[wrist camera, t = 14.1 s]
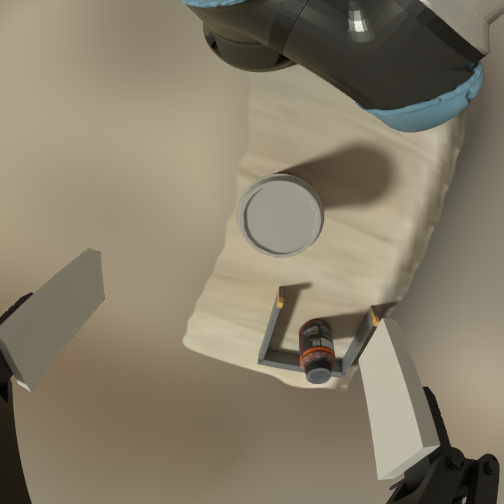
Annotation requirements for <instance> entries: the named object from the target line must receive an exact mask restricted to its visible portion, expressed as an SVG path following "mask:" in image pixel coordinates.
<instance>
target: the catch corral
mask: <svg viewBox="0 0 504 504" xmlns="http://www.w3.org/2000/svg"><path fill="white" fill-rule="evenodd" d="M283 303H284V288H283V287H279V290H278V293H277V297H276V300H275V303H274V307H273V310H272V313H271V317H270V320H269V323H268V326H267V330H266V333H265V336H264V339H263V342H262V345H261V349H260V352H259V357H258V364H260V365H265V366H270V367H276V368H281V369H286V370H292V371H298V372H303V371H302V369H301V367H300V356H299V355H294V354H288V353H283V352H278V351H273V350H268V349H267V348H268V345H269V342H270V339H271V336H272V333H273V330H274V327H275V324H276V321H277V317H278V314H279V311H280V308H282V306H283ZM379 323H380V319H379V317H378V314H377V311H376V309H375V307H374V306H371V307H370V309H369V311H368V313H367V315H366V317H365V319H364V321H363V323H362V324H361V326H360V328H359V330H358V332H357V334H356V336H355V338H354V340H353V341H352V343H351V345H350V347H349V349H348V350H347V352H346V354H345V356H344V357H343V359H342V361H341V362H336V364H335V366H334V368H333V370H332V371H331V374H332V375H331V376H332V377H340V378H343V377H344V376H345V374H346V372H347V371H348V369H349V368H350V366H351V364H352V363H353V361H354V360H355V358H356V356H357V355H358V353H359V351H360V349H361V348H362V346H363V344H364V343H365V341H366V339H367V337H368V336H369V334H370V332H371V330H372V328H373V326H377V327H378V325H379Z"/></svg>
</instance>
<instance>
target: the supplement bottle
mask: <svg viewBox="0 0 504 504" xmlns="http://www.w3.org/2000/svg"><path fill="white" fill-rule="evenodd" d="M299 352H300V367H301V369H302V371H303V372H304V373H306V378H307V380H308V381H309V382H310V383H313V384H322V383H325V382H327V381H328V380H329V379H330V378H331V375H332V374H331V371H332V370H333V368H334V366H335V364H336V359H335V352H334V345H333V339H332V333H331V328H330V326H329V325H328V324H327V323H326V322H324V321H322V320H311V321H308V322H306V323H305V324H304V325H303V326H302V327H301V328H300V331H299Z"/></svg>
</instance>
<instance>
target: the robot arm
mask: <svg viewBox="0 0 504 504" xmlns="http://www.w3.org/2000/svg"><path fill="white" fill-rule="evenodd" d="M180 1H183V2H184V3H185V4H186V5H187V6H188V7H189V8H190V9H191V10H192V11H193V12H194V13H195V14H196V15H197V16H198V17H199V18H200V19H201V20H202V21H203V31H204V36H205V39H206V41H207V43H208V45H209V46H210V48H211V49H212V51H213V52H214V53H215V54H216V55H217V56H218V57H219V58H221V59H222V60H223V61H224V62H226V63H227V64H229V65H231V66H233V67H235V68H238V69H241V70H245V71H250V72H269V71H275V70H279V69H282V68H285V67H287V66H289V65H291V64H293V63H294V62H296V63H298V64H300V65H301V66H303V67H305V68H306V69H308V70H310V71H311V72H313V73H314V74H316V75H318V76H319V77H321V78H322V79H324V80H325V81H327V82H328V83H330V84H331V85H333V86H334V87H336V88H337V89H339V90H340V91H342V92H343V93H345V94H346V95H347V96H349V97H350V98H352V99H353V100H354V101H355V103H356V104H357V105H358V107H360V108H361V109H362V110H364V111H367V112H368V113H371V114H373V115H374V116H376V117H377V118H378V119H380V120H381V121H382V122H384V123H385V124H386V125H388V126H389V127H391V128H393V129H396V130H398V131H402V132H420V131H425V130H428V129H431V128H434V127H436V126H438V125H441V124H443V123H445V122H446V121H448V120H450V119H452V118H453V117H455V116H456V115H457V114H459V113H460V112H461V111H462V110H463V109H465V108H466V107H467V106H468V101H467V100H469V99H471V98H474V97H476V95H477V94H478V92H479V91H480V89H481V86H482V84H483V79H484V71H483V68H482V65H481V62H480V60H481V59H482V58H483V57H485V56H486V55H487V54H488V53H489V52H490V49H489V48H490V47H489V33H488V30H489V25H490V24H491V23H492V22H493V21H495V20H496V19H497V18H498V17H500V16H501V15H502V14H504V0H180ZM104 300H105V294H104V286H103V275H102V264H101V252H99V251H96V250H92V249H89V248H88V249H87V250H86V251H84V252H83V253H82V254H80V255H79V256H78V257H77V258H76V259H74V260H73V261H72V262H71V263H69V264H68V265H67V266H66V267H64V268H63V269H62V270H61V271H60V272H58V273H57V274H56V275H55V276H54V277H52V278H51V279H50V280H49V281H48V282H47V283H45V284H44V285H43V286H42V287H41V288H40V289H39V290H37V291H36V292H35V293H32V292H31V293H29V294H27V295H25V296H23V297H21V298H20V299H19V300H18V301H17V302H16V303H15V304H14V306H11V307H10V308H9V309H8V311H6V312H5V313H4V314H3V315H2V316H1V317H0V504H32V503H31V500H30V497H29V493H28V489H27V486H26V482H25V478H24V474H23V469H22V465H21V460H20V455H19V449H18V443H17V436H16V429H15V420H14V411H13V395H12V382H11V380H10V378H11V377H12V375H14V377H15V378H16V380H17V382H18V383H19V384H20V385H21V386H23V387H24V388H26V389H27V390H29V391H30V392H32V390H33V389H34V388H35V386H36V385H37V384H38V382H39V380H40V379H41V378H42V377H43V375H44V374H45V372H46V371H47V370H48V368H49V367H50V366H51V365H52V363H53V362H54V361H55V359H56V358H57V357H58V356H59V354H60V353H61V352H62V350H63V349H64V348H65V347H66V345H67V344H68V343H69V342H70V340H71V339H72V338H73V337H74V335H75V334H76V333H77V332H78V331H79V329H80V328H81V327H82V326H83V324H84V323H85V322H86V321H87V320H88V319H89V317H90V316H91V315H92V314H93V313H94V311H95V310H96V309H97V308H98V307H99V306H100V304H101V303H102V302H103V301H104ZM358 360H359V364H360V369H361V373H362V379H363V384H364V389H365V395H366V400H367V406H368V411H369V417H370V423H371V430H372V437H373V444H374V451H375V459H376V466H377V476H378V480H383V479H392V478H395V477H397V476H399V475H400V474H402V473H403V472H404V475H405V478H404V479H402V480H401V481H399V482H398V483H396V484H394V485H393V486H391V488H390V490H392V489H394V488H396V487H397V488H396V490H395V491H394V493H393V494H392V496H391V497H390V499H389V500H388V502H387V503H386V504H462V500H463V498H465V497H467V499H466V503H465V504H496V502H497V494H498V485H499V471H500V469H499V463H498V460H497V459H496V457H495V456H494V455H492V454H485V455H483V456H482V457H481V458H479V459H478V460H473V459H467V458H465V457H464V455H463V453H462V452H461V451H460V450H459V449H457V448H454V447H451V445H450V442H449V438H448V435H447V431H446V428H445V425H444V422H443V419H442V417H441V413H440V410H439V408H438V404H437V401H436V398H435V396H434V394H433V393H432V392H431V390H430V389H429V388H428V387H422V384H421V381H420V379H419V376H418V373H417V370H416V368H415V365H414V363H413V360H412V357H411V355H410V352H409V350H408V347H407V345H406V342H405V340H404V337H403V335H402V333H401V330H400V328H399V325H398V323H397V321H396V320H393V319H387V318H382V319H381V321H380V323H379V325H378V327H377V329H376V330H375V332H374V334H373V336H372V338H371V339H370V341H369V343H368V344H367V346H366V348H365V350H364V351H363V353H362V355H361V356H360V358H359V359H358Z"/></svg>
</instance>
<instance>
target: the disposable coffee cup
mask: <svg viewBox="0 0 504 504" xmlns="http://www.w3.org/2000/svg"><path fill="white" fill-rule="evenodd" d="M237 222H238V225H239V229H240V231H241V233H242V235H243V237H244V238H245V239H246V240H247V242H248V243H249V244H250V245H251V246H252V247H253V248H254V249H256V250H257V251H259V252H261V253H263V254H265V255H268V256H272V257H276V258H283V257H290V256H294V255H297V254H299V253H301V252H303V251H305V250H306V249H307V248H308V247H310V246H311V245H312V244H313V243H314V242H315V241H316V239H317V238H318V236H319V235H320V233H321V230H322V227H323V223H324V209H323V204H322V201H321V199H320V197H319V195H318V193H317V192H316V191H315V190H314V188H313V187H312V186H311V185H310V184H308V183H307V182H306V181H304V180H302V179H301V178H298V177H296V176H294V175H292V174H289V173H285V172H278V173H274V174H271V175H267V176H264V177H262V178H260V179H258V180H256V181H255V182H253V183H252V184H251V185H250V186H249V187H248V188H247V189H246V190H245V192H244V193H243V195H242V196H241V198H240V201H239V204H238V208H237Z"/></svg>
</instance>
